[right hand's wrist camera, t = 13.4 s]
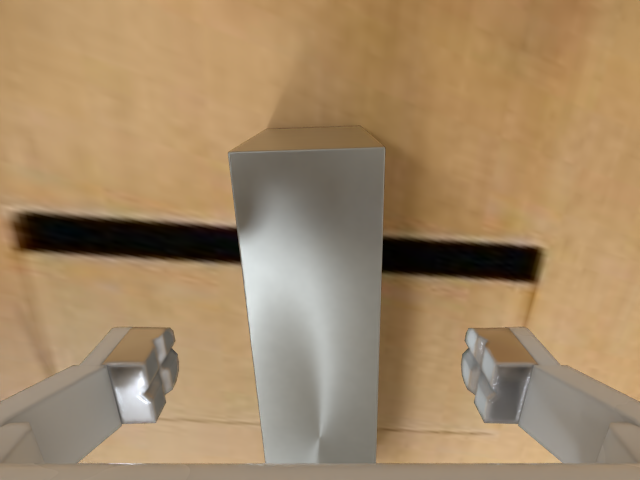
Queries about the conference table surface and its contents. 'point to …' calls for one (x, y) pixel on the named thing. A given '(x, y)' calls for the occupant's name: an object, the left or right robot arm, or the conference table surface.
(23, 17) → the conference table surface
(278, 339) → the bar
